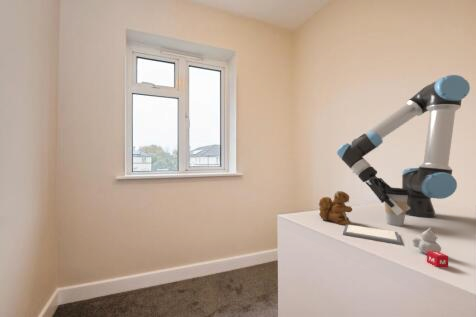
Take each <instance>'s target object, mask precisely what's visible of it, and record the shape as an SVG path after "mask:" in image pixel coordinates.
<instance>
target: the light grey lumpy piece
mask: <svg viewBox="0 0 476 317" xmlns="http://www.w3.org/2000/svg"><path fill="white" fill-rule="evenodd" d="M420 237H421V238H419V237H412V238H411V240H412V246H413V247H414V248H418V249H419V250H420V252H422V253H423V254H425V255H427V251H438V252H440V253H441V252H442V246H441V245H440V244H439V243H437V240H438V237H437V236H436V235H435V233H434V231H432V227H431V226H429V228H428V229H426V230H424V231H423V232H421V234H420Z"/></svg>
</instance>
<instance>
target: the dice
mask: <svg viewBox="0 0 476 317" xmlns="http://www.w3.org/2000/svg"><path fill="white" fill-rule="evenodd" d="M427 262H428V263H427ZM426 263H427V264H429V263H430V264H429V265H431V264H432V265H431V266H433V265H434V266H433V267H435V268H437V267H448V268H449V255H447V254H444V253H443V252H441V251H440V252H438V251H427V254H426Z"/></svg>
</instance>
